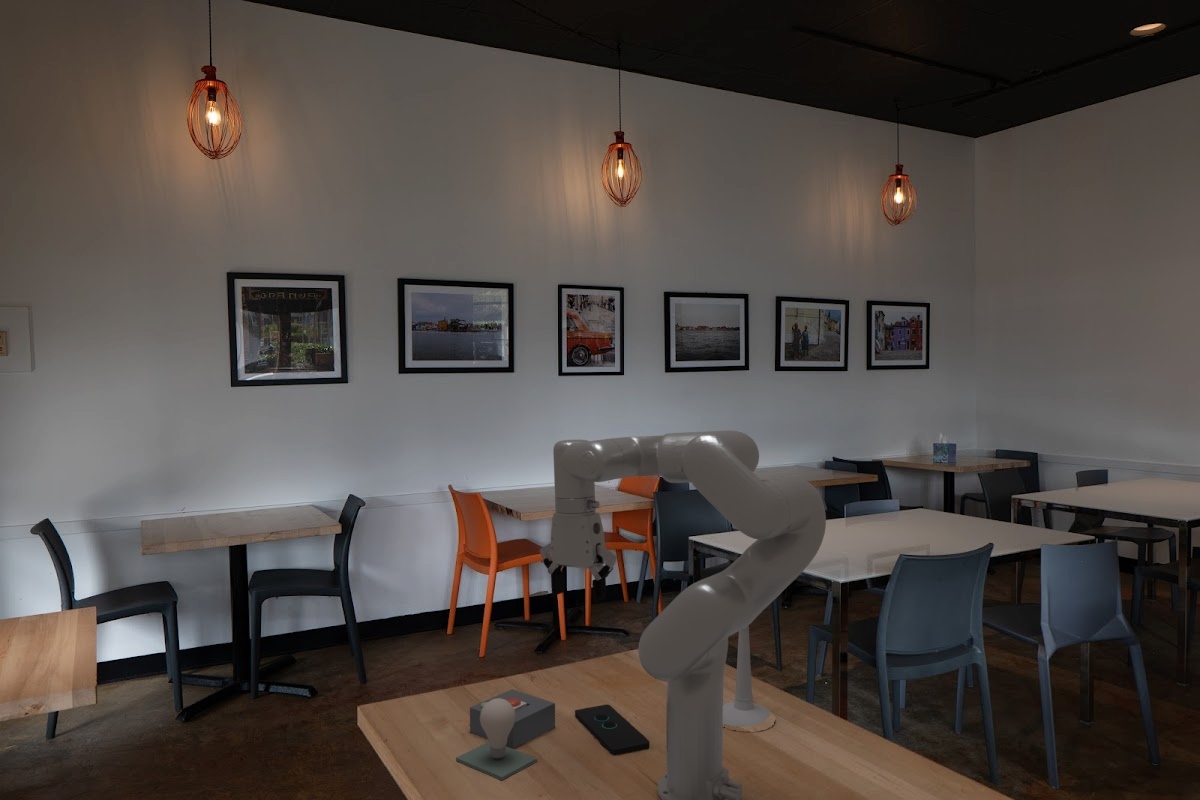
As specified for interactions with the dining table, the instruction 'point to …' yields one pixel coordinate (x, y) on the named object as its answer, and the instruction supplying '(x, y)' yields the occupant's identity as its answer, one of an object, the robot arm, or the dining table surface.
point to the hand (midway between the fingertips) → (578, 596)
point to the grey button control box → (520, 718)
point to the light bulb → (497, 724)
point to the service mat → (496, 761)
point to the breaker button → (516, 703)
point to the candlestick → (744, 691)
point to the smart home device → (611, 730)
